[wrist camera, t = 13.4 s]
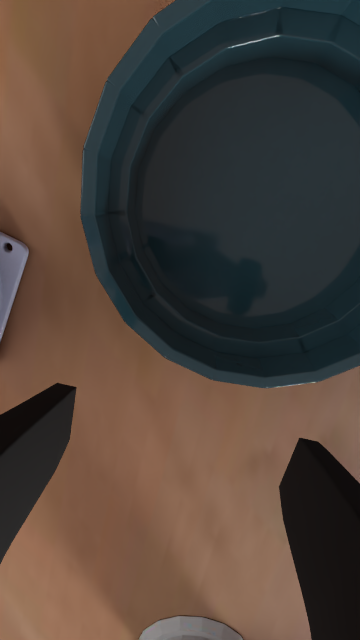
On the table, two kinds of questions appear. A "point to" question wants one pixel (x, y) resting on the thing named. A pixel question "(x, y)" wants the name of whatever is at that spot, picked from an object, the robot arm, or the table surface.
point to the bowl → (234, 188)
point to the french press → (189, 630)
